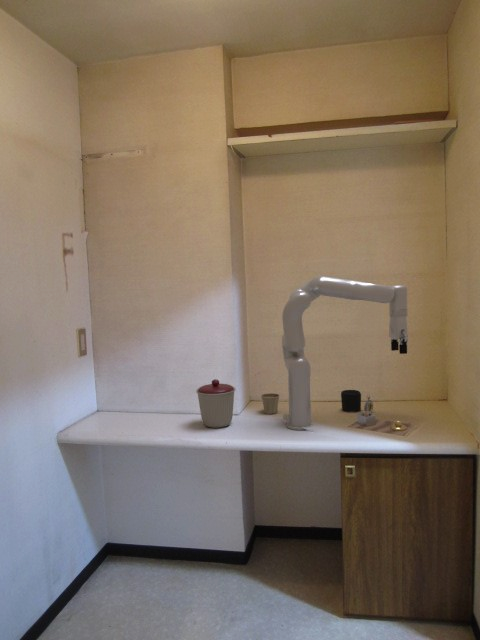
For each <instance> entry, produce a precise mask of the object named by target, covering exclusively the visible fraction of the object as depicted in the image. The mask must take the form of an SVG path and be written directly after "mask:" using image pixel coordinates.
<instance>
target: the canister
mask: <svg viewBox="0 0 480 640" xmlns="http://www.w3.org/2000/svg"><path fill="white" fill-rule="evenodd" d="M235 391H236V387H235V386H233V385H231V384H228V383H220V380H219V379H216V378H215V379H212V380H211V383H209V384H205V385H204V384H203V385H202V386H199V387H198V388H197V389H196V390H195V392H196V394H197V397H198V405H199V410H200V416H201V421H202V423H203V425H204V426H205V427H208V428H215V429H217V428H224V427H228V426H229V425H230V424H231V423H232V421H233V415H234V413H233V412H234V403H235Z"/></svg>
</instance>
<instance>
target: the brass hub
mask: <svg viewBox="0 0 480 640" xmlns="http://www.w3.org/2000/svg"><path fill="white" fill-rule="evenodd" d="M394 422H395V424H394V425H391V426H390V429H392V430H395V431H404V430H407V427H406V426H405V425H401V423H402V420H400V419H395V420H394Z"/></svg>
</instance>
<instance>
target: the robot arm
mask: <svg viewBox="0 0 480 640" xmlns="http://www.w3.org/2000/svg"><path fill="white" fill-rule="evenodd" d="M320 296H325V297H330V298H331V297H332V298H337V299H338V298H339V299H344V300H351V301H356V300H357V301H366V302H367V301H368V302H373V303H380V304H389V305H388V306H389V309H388V311H389V329H388V336H389V338H390V350H391V351H392V352H393V351H399V354H400V355H404V354H405V355H406V354H407V353H408V338H409V336H408V322H407V317H408V288H407V286H406V285H403V284H400V285H397V284H396V285H390V286H389V285H383V284H377V283H376V284H375V283H369V282H363V281H359V280H354V279H348V278H347V279H346V278H342V277H334V276H326V275H317V276H314V277H313V278H312V279H310V280H309V281H307V282H306V283H304V284H303V285H302V286H300V287H298V288H297V289H295V290H294V291H293V292H292V293H291V294H290V296H289V299H288V300H287V302H286V303H285V305H284V306H283V310H282V315H281V317H282V319H281V320H282V329H283V335H282V336H281V337H282V338H281V345H282V346H281V347H282V353H283V359H284V360H283V361H284V366H285V368H286V370H287V371H288V372H287V373H288V377H287V378H288V380H287V383H288V388H287V389H288V410H289V411H288V412H289V414H288V413H287V414H286V413H284V414H283V415H282V420H286V425H285V427H287V429H289V430H294V431H306V430H307V428H311V427H313V426H314V425H315V422H314V421H313V420H312V410H311V409H312V407H311V406H312V405H311V370H312V369H311V365H310V361H309V360H308V359H307V357H306V356H305V351H304V350H305V347H306V338H305V333H304V327H303V314H304V312H305V311H306V310H308V309H309V307H310V306H311V304H312V302H314V301H315V300H316V299H318V298H319V297H320Z"/></svg>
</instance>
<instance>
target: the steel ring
mask: <svg viewBox="0 0 480 640" xmlns="http://www.w3.org/2000/svg"><path fill="white" fill-rule="evenodd" d="M376 418H377V417H376V413H375V414H374V413H373V412H371V413H369V416H364V411H362V412H359V413H358V414H357V421H358V424H359V425H362V426H373V425H375V424H376Z"/></svg>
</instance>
